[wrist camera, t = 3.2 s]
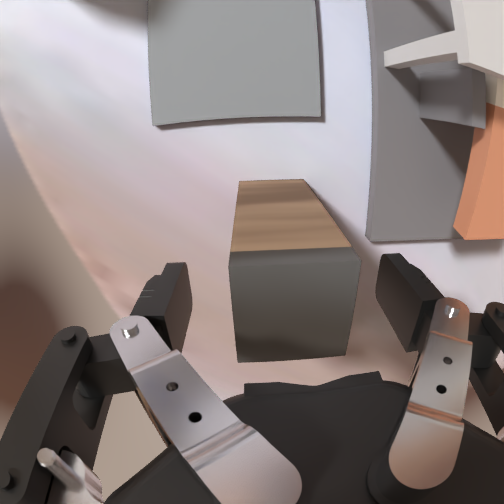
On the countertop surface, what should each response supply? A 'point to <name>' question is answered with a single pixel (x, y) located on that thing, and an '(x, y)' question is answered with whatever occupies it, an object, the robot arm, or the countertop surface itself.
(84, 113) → the countertop surface
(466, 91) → the white square frame
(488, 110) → the rocker
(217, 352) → the countertop surface
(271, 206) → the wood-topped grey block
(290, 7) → the mat
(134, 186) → the countertop surface
